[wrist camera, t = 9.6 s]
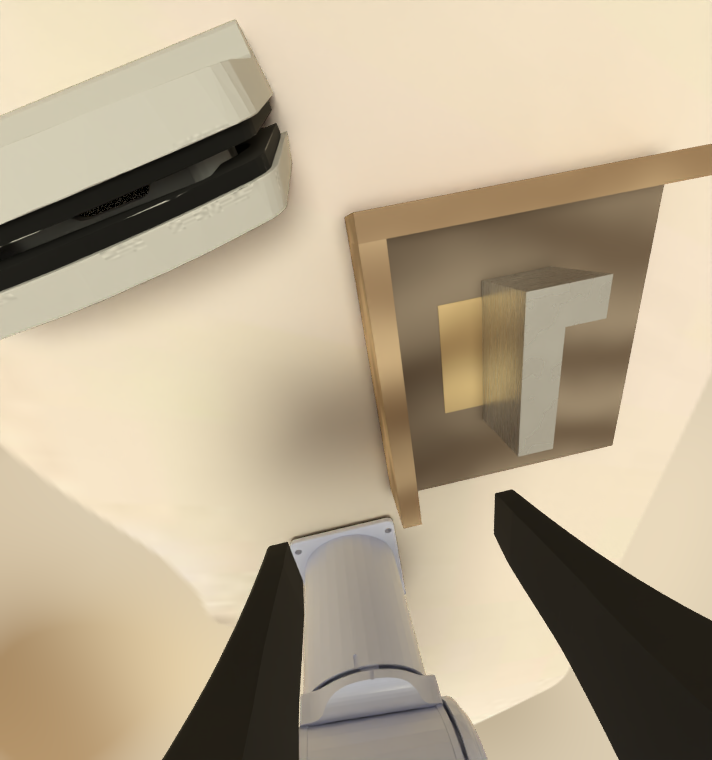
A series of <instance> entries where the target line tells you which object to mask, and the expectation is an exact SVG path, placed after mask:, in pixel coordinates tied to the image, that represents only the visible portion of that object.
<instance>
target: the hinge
mask: <svg viewBox="0 0 712 760" xmlns="http://www.w3.org/2000/svg"><path fill="white" fill-rule="evenodd" d="M272 95H273V92H272V90H271V88H270V86H269V84H268V82H267V80H266V78H265V76H264V74H263V72H262V70H261V68H260V66H259V64H258V62H257V60H256V58H255V56H254V54H253V52H252V50H251V48H250V46H249V44H248V42H247V40H246V38H245V36H244V34H243V32H242V30H241V28H240V26H239V24H238V23H237V21H236V19H234V20H232V21H229V22H227V23H225V24H222V25H220V26H217V27H215V28H212V29H210V30H208V31H205V32H203V33H200V34H198V35H195V36H193V37H191V38H188V39H186V40H183V41H181V42H178V43H176V44H173V45H171V46H169V47H166V48H164V49H161V50H159V51H156V52H154V53H152V54H149V55H147V56H144V57H142V58H139V59H137V60H135V61H132V62H130V63H127V64H125V65H122V66H120V67H118V68H115V69H113V70H110V71H108V72H105V73H103V74H100V75H98V76H96V77H93V78H91V79H88V80H86V81H83V82H81V83H79V84H76V85H74V86H71V87H69V88H66V89H64V90H62V91H59V92H57V93H54V94H52V95H49V96H47V97H44V98H42V99H40V100H37V101H35V102H32V103H30V104H27V105H25V106H23V107H20V108H18V109H15V110H13V111H10V112H8V113H6V114H3V115H1V116H0V340H1V339H4V338H7V337H9V336H12V335H15V334H17V333H20V332H23V331H26V330H28V329H31V328H34V327H36V326H39V325H42V324H44V323H47V322H50V321H53V320H55V319H58V318H61V317H63V316H66V315H68V314H71V313H73V312H76V311H78V310H81V309H83V308H85V307H88V306H90V305H93V304H95V303H98V302H100V301H103V300H105V299H108V298H110V297H112V296H114V295H117V294H119V293H121V292H123V291H125V290H128V289H130V288H132V287H134V286H137V285H139V284H141V283H143V282H146V281H148V280H150V279H152V278H155V277H157V276H159V275H161V274H164V273H166V272H168V271H170V270H172V269H174V268H176V267H179V266H181V265H183V264H185V263H187V262H189V261H191V260H193V259H195V258H197V257H200V256H202V255H204V254H206V253H208V252H210V251H212V250H214V249H216V248H218V247H219V246H221V245H223V244H225V243H227V242H229V241H231V240H233V239H235V238H237V237H239V236H241V235H243V234H245V233H247V232H249V231H250V230H252V229H254V228H256V227H258V226H260V225H262V224H264V223H266V222H268V221H270V220H271V219H273V218H275V217H276V216H277V215H279V214H280V213H281V212H282V211H283V210H284V209H285V208H286V206H287V200H288V192H289V184H290V176H291V169H292V160H291V154H290V148H289V142H288V136H287V132H283V133H281V134H280V131H279V129H278V126H277V123H275V124H273V125H270V126H268V127H265V128H263V129H260V128H261V126H262V124H263V123H264V121H265V120H266V118H267V116H268V115H269V113H270V112H271V110H272V109H271V106H270V104H269V101H268V100H269V99H270V97H271V96H272ZM259 129H260V130H259ZM146 185H149V191H148V193H147V194H146V195H144V196H142V197H139V198H137V199H134V200H132V201H129V202H127V203H124V204H122V205H119V206H117V207H114V208H112V209H109V210H106V211H104V212H101V213H99V214H96V215H94V216H91V217H81V216H78V215H79V214H82V213H84V212H86V211H89V210H91V209H93V208H96V207H98V206H100V205H103V204H105V203H107V202H110V201H112V200H114V199H117V198H119V197H121V196H123V195H126V194H128V193H130V192H133V191H135V190H137V189H140V188H142V187H144V186H146Z"/></svg>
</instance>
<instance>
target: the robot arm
mask: <svg viewBox="0 0 712 760" xmlns="http://www.w3.org/2000/svg"><path fill="white" fill-rule="evenodd" d="M387 528H389V529H387ZM494 535H495V537H496V539H497V541H498V543H499V545H500V548H501V550H502V552H503V554H504V556H505V558H506V560H507V562H508V563H509V565H510V567H511V569H512V570H513V572H514V573H515V575H516V577H517V578H518V580H519V582H520V583H521V585H522V586H523V588H524V590H525V591H526V593H527V594H528V596H529V597H530V599H531V601H532V602H533V604H534V605H535V607H536V609H537V610H538V612H539V613H540V615H541V616H542V618H543V620H544V621H545V623H546V624H547V626H548V628H549V629H550V631H551V632H552V634H553V635H554V637H555V639H556V640H557V642H558V644H559V646H560V647H561V649H562V651H563V652H564V654H565V656H566V658H567V660H568V662H569V663H570V665H571V667H572V669H573V671H574V673H575V675H576V676H577V679H578V680H579V682H580V684H581V686H582V688H583V690H584V692H585V693H586V696H587V698H588V699H589V701H590V703H591V705H592V707H593V709H594V711H595V713H596V715H597V717H598V719H599V721H600V723H601V725H602V727H603V729H604V731H605V732H606V735H607V737H608V739H609V741H610V743H611V744H612V747H613V749H614V751H615V753H616V755H617V757H618V759H619V760H712V621H711V620H709V619H708V618H706V617H703V616H702V615H700V614H698V613H696V612H694V611H692V610H691V609H689V608H687V607H685V606H683V605H681V604H680V603H678V602H676V601H674V600H673V599H671V598H669V597H667V596H666V595H663V594H662V593H660V592H659V591H657V590H655V589H654V588H652V587H650V586H649V585H647V584H645V583H644V582H642V581H640V580H639V579H637V578H635V577H634V576H632V575H631V574H629V573H627V572H626V571H624V570H623V569H621V568H620V567H618V566H617V565H615V564H614V563H612V562H611V561H609V560H608V559H606V558H605V557H603V556H602V555H600V554H599V553H597V552H596V551H594V550H593V549H591V548H590V547H588V546H587V545H585V544H584V543H583V542H581V541H580V540H579V539H577V538H576V537H574V536H573V535H572V534H570V533H569V532H567V531H566V530H565V529H563V528H562V527H561V526H559V525H558V524H557V523H555V522H554V521H553V520H551V519H550V518H549V517H547V516H546V515H545V514H543V513H542V512H541V511H539V510H538V509H537V508H536V507H534V506H533V505H532V504H530V503H529V502H528V501H527V500H525V499H524V498H523V497H522V496H520V495H519V494H518V493H516V492H515V491H514V490H508V491H504V492H499V493H495V514H494ZM303 583H304V586H305V620H304V597H303ZM405 594H406V592H405V586H404V580H403V575H402V569H401V563H400V558H399V552H398V546H397V541H396V535H395V529H394V524H393V521H392V519H391V518H383V519H379V520H374V521H370V522H366V523H362V524H357V525H353V526H349V527H345V528H341V529H336V530H332V531H328V532H324V533H320V534H315V535H311V536H307V537H303V538H298V539H295V540H293V541H291V543H290V546H289V544H288V542H285V543H281V544H277V545H272V546H269V548H268V549H267V551H266V554H265V557H264V560H263V562H262V565H261V568H260V570H259V573H258V575H257V578H256V580H255V583H254V585H253V588H252V590H251V593H250V595H249V597H248V600H247V602H246V604H245V606H244V609H243V611H242V613H241V615H240V618H239V620H238V622H237V624H236V627H235V629H234V631H233V633H232V635H231V637H230V639H229V641H228V643H227V645H226V647H225V649H224V651H223V653H222V655H221V657H220V659H219V661H218V663H217V665H216V667H215V669H214V671H213V673H212V675H211V677H210V679H209V680H208V682H207V684H206V686H205V688H204V690H203V691H202V693H201V695H200V697H199V699H198V700H197V702H196V704H195V706H194V708H193V709H192V711H191V713H190V714H189V716H188V718H187V720H186V721H185V723H184V725H183V726H182V728H181V730H180V731H179V733H178V735H177V736H176V738H175V740H174V741H173V743H172V745H171V746H170V748H169V750H168V751H167V753H166V754H165V756H164V758H163V759H162V760H487V757H486V754H485V751H484V749H483V746H482V744H481V741H480V739H479V736H478V734H477V732H476V730H475V728H474V726H473V724H472V722H471V720H470V719H469V717H468V716H467V714H466V713H465V712H464V711H463V710H462V709H461V708H460V707H459V705H458V704H457V702H456V701H455V700H454V699H453V698H452V697H449V696H442V697H441V695H440V691H439V688H438V684H437V681H436V677H435V675H426V674H425V671H424V667H423V663H422V659H421V655H420V652H419V648H418V644H417V640H416V636H415V633H414V629H413V625H412V621H411V618H410V614H409V610H408V606H407V602H406V599H405ZM303 627H304V690H303V691H304V693H303V694H302V695H301V698H300V700H301V701H300V727H299V696H300V678H301V662H302V645H303Z"/></svg>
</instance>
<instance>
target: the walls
mask: <svg viewBox="0 0 712 760" xmlns="http://www.w3.org/2000/svg"><path fill="white" fill-rule="evenodd" d="M709 175H712V144H708V145H703V146H698V147H692V148H687V149H682V150H677V151H672V152H666V153H661V154H656V155H651V156H646V157H640V158H635V159H630V160H625V161H619V162H614V163H609V164H604V165H599V166H593V167H588V168H583V169H578V170H572V171H567V172H562V173H557V174H552V175H546V176H541V177H536V178H531V179H526V180H520V181H515V182H510V183H505V184H499V185H494V186H489V187H484V188H479V189H473V190H468V191H463V192H458V193H453V194H447V195H442V196H437V197H432V198H426V199H421V200H416V201H411V202H406V203H400V204H395V205H390V206H385V207H379V208H374V209H369V210H364V211H359V212H353V213H352V214H350V215H348V216H346V217H345V223H346V229H347V235H348V241H349V246H350V252H351V258H352V264H353V270H354V276H355V282H356V288H357V293H358V299H359V305H360V311H361V317H362V323H363V329H364V335H365V340H366V346H367V352H368V358H369V364H370V370H371V376H372V382H373V387H374V393H375V399H376V405H377V411H378V417H379V423H380V428H381V434H382V440H383V446H384V452H385V458H386V464H387V470H388V475H389V481H390V487H391V491H392V494H393V497H394V500H395V503H396V507H397V510H398V513H399V516H400V519H401V522H402V525H403V528H408V527H412V526H416V525H421V524H422V522H421V514H420V506H419V498H418V490H417V482H416V474H415V466H414V458H413V450H412V442H411V434H410V426H409V418H408V410H407V402H406V394H405V386H404V378H403V370H402V362H401V353H400V345H399V337H398V329H397V321H396V313H395V305H394V297H393V289H392V281H391V273H390V265H389V257H388V249H387V241H386V239H388V238H393V237H399V236H404V235H409V234H414V233H419V232H424V231H429V230H434V229H439V228H444V227H449V226H454V225H460V224H465V223H470V222H475V221H480V220H485V219H490V218H495V217H500V216H505V215H510V214H516V213H521V212H526V211H531V210H536V209H541V208H546V207H551V206H556V205H561V204H566V203H572V202H577V201H582V200H587V199H592V198H597V197H602V196H607V195H612V194H617V193H622V192H628V191H633V190H638V189H643V188H648V187H653V186H658V185H663V184H668V183H673V182H678V181H684V180H689V179H694V178H699V177H704V176H709Z"/></svg>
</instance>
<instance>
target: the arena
mask: <svg viewBox="0 0 712 760" xmlns="http://www.w3.org/2000/svg"><path fill="white" fill-rule="evenodd" d="M663 187H664V184H663V185H658V186H653V187H648V188H643V189H638V190H633V191H628V192H622V193H617V194H612V195H607V196H602V197H597V198H592V199H587V200H582V201H577V202H572V203H566V204H561V205H556V206H551V207H546V208H541V209H536V210H531V211H526V212H521V213H516V214H510V215H505V216H500V217H495V218H490V219H485V220H480V221H475V222H470V223H465V224H460V225H454V226H449V227H444V228H439V229H434V230H429V231H424V232H419V233H414V234H409V235H404V236H399V237H393V238H388V239H386V241H387V249H388V257H389V265H390V273H391V281H392V289H393V297H394V305H395V313H396V321H397V329H398V337H399V345H400V353H401V362H402V370H403V378H404V386H405V394H406V402H407V410H408V418H409V426H410V434H411V442H412V450H413V458H414V466H415V474H416V482H417V490H418V491H419V490H424V489H428V488H432V487H436V486H441V485H445V484H449V483H453V482H458V481H462V480H466V479H471V478H475V477H479V476H483V475H488V474H492V473H496V472H500V471H505V470H509V469H513V468H517V467H522V466H526V465H530V464H535V463H539V462H543V461H547V460H552V459H556V458H560V457H564V456H569V455H573V454H577V453H582V452H586V451H590V450H594V449H599V448H603V447H607V446H611V445H612V444H613V439H614V434H615V429H616V424H617V419H618V414H619V409H620V404H621V399H622V394H623V389H624V384H625V379H626V374H627V369H628V363H629V358H630V353H631V348H632V343H633V338H634V333H635V328H636V323H637V318H638V313H639V308H640V303H641V298H642V293H643V288H644V283H645V278H646V273H647V268H648V263H649V258H650V253H651V248H652V243H653V238H654V233H655V228H656V223H657V218H658V212H659V207H660V202H661V197H662V192H663ZM551 266H553V267H561V268H569V269H577V270H585V271H593V272H601V273H610V274H613V279H612V285H611V292H610V298H609V304H608V311H607V317H606V318H605V319H601V320H596V321H591V322H587V323H582V324H577V325H573V326H568V327H565V337H564V346H563V356H562V366H561V375H560V385H559V395H558V404H557V414H556V424H555V433H554V443H553V449H550V450H545V451H541V452H537V453H532V454H528V455H524V456H519V457H518V456H517V455H516V454H515V453H514V452H513V451H512V449H511V448H510V447H509V446H508V445H507V444H506V443H505V442H504V441H503V440H502V439H501V438H500V437H499V436H498V435H497V434H496V433H495V432H494V430H493V429H492V428H491V427H490V426H489V425H488V424H487V423H486V422H485V421H484V420H483V364H482V281H483V280H487V279H492V278H497V277H502V276H507V275H512V274H517V273H522V272H526V271H531V270H536V269H541V268H546V267H551Z"/></svg>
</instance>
